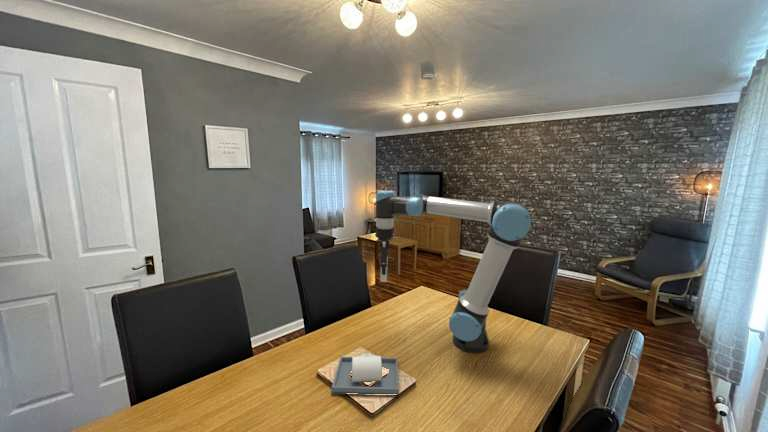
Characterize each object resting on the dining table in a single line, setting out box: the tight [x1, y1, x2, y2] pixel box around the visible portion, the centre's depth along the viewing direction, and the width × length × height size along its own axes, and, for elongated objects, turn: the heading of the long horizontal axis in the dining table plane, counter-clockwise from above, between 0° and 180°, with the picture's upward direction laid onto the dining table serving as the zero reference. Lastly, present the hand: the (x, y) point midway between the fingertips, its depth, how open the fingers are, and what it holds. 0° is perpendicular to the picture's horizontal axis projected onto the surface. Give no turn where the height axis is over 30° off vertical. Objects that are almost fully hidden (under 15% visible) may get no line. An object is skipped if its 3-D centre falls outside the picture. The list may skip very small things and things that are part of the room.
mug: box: [351, 353, 382, 383], centre depth 107 cm, size 12×10×8 cm
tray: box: [331, 355, 400, 396], centre depth 107 cm, size 22×17×2 cm
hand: (384, 276), depth 130 cm, fingers open, 13 cm apart
